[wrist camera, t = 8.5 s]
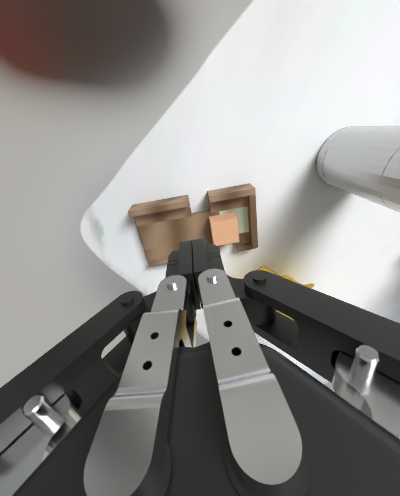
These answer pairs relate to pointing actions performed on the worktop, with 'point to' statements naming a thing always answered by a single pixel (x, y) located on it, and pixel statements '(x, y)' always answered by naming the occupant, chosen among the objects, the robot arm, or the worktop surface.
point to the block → (224, 229)
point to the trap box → (193, 221)
